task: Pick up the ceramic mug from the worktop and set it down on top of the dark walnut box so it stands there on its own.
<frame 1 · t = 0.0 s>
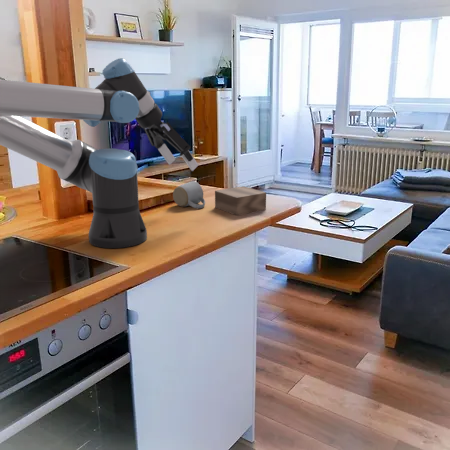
hand: (183, 164, 150), 15 cm above the worktop, tool tilted 35°, fingers open, 13 cm apart
walnut box: (240, 209, 159), on the worktop
ceramic mug: (191, 206, 162), on the worktop
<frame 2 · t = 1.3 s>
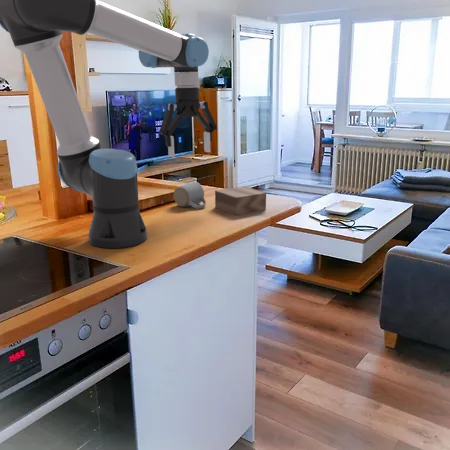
hand: (189, 154, 157), 17 cm above the worktop, tool pointing down, fingers open, 13 cm apart
nothing on the worktop moved.
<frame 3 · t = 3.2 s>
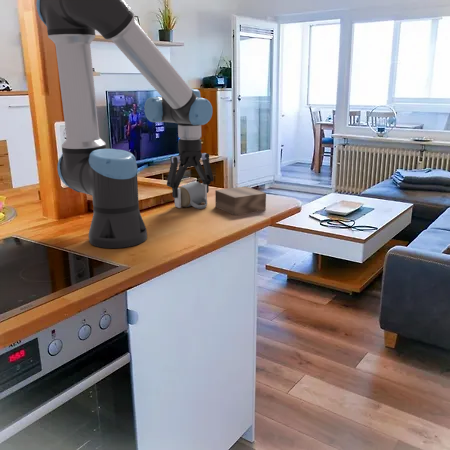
hand: (191, 204, 162), 0 cm above the worktop, tool pointing down, fingers open, 10 cm apart
ceramic mug: (193, 206, 162), on the worktop, touching gripper
everything else where it was.
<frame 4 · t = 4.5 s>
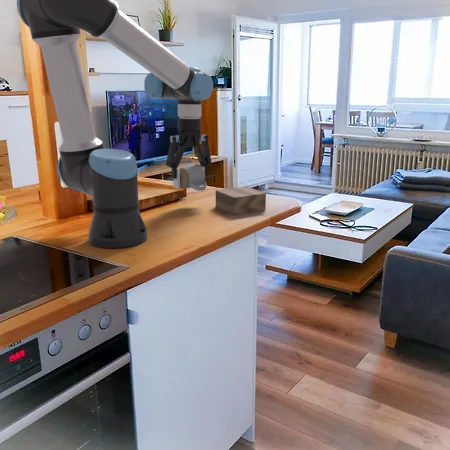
hand: (189, 186, 160), 7 cm above the worktop, tool pointing down, fingers closed on ceramic mug, 9 cm apart
ceramic mug: (192, 188, 160), point 6 cm above the worktop, touching gripper
everything else where it was.
when the fingers open (7 cm above the worktop, at t = 8.4 s): ceramic mug drops 2 cm, resting on walnut box.
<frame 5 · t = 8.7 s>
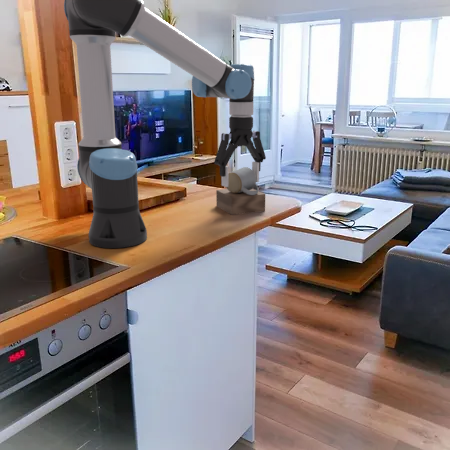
hand: (240, 183, 156), 8 cm above the worktop, tool pointing down, fingers open, 12 cm apart
walnut box: (240, 209, 159), on the worktop, touching ceramic mug
ceramic mug: (243, 193, 157), point 5 cm above the worktop, touching walnut box
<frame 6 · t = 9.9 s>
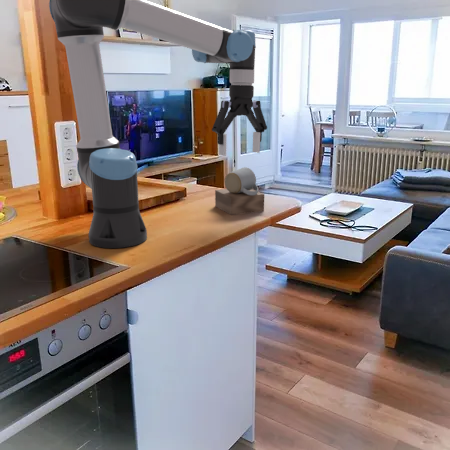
hand: (239, 153, 153), 18 cm above the worktop, tool pointing down, fingers open, 13 cm apart
nothing on the worktop moved.
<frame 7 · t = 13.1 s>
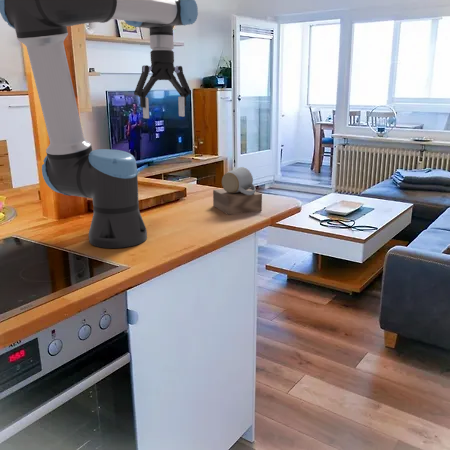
hand: (164, 117, 161), 29 cm above the worktop, tool pointing down, fingers open, 13 cm apart
ceramic mug: (240, 193, 157), point 5 cm above the worktop, touching walnut box
at the end: ceramic mug inside the target area on the walnut box (1.4 cm from its centre), point 5.8 cm above the walnut box's base; ceramic mug tilted 1°; the gripper is holding nothing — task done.
